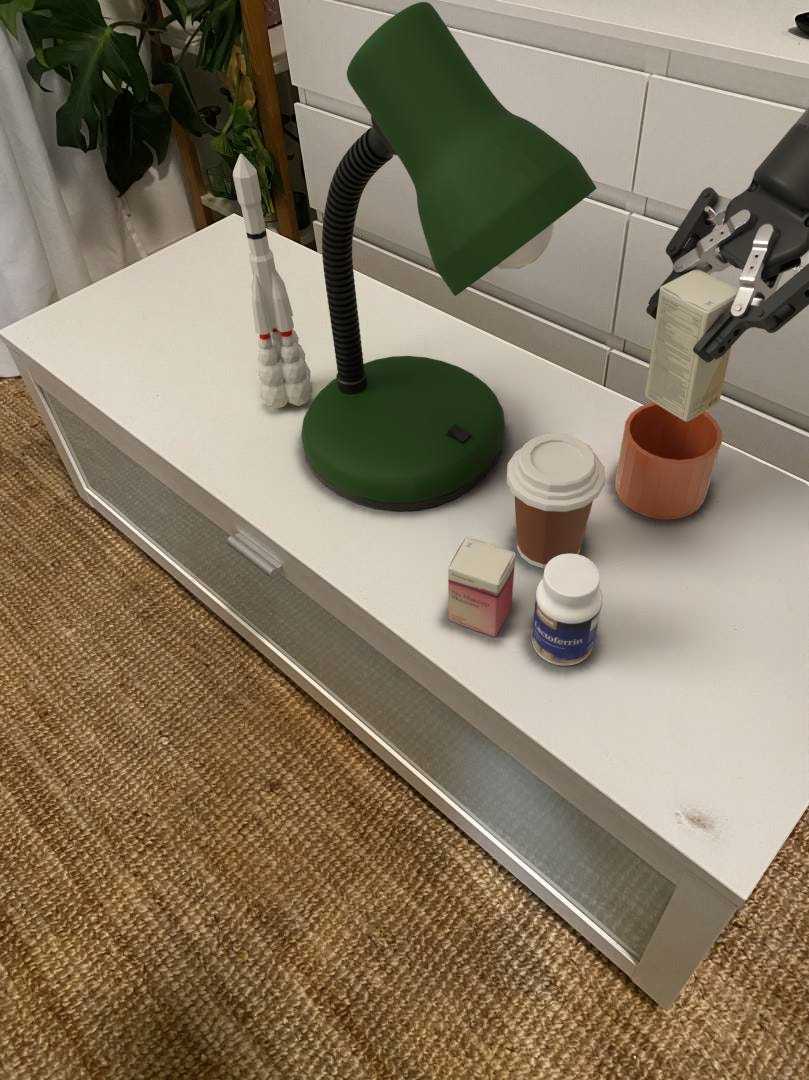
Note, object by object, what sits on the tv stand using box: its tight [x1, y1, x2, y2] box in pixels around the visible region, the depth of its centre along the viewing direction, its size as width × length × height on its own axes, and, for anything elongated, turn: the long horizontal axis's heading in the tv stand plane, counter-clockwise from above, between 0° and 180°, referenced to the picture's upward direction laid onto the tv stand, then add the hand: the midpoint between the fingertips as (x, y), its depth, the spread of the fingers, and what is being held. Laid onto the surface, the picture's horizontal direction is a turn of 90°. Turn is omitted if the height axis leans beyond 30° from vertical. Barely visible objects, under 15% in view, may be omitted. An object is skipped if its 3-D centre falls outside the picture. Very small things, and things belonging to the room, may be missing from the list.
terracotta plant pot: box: [614, 401, 723, 521], centre depth 89 cm, size 9×9×8 cm
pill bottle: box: [531, 554, 603, 667], centre depth 76 cm, size 6×6×10 cm
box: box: [644, 269, 739, 422], centre depth 71 cm, size 5×4×11 cm
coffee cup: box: [506, 433, 606, 569], centre depth 83 cm, size 9×9×12 cm
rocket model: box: [232, 153, 313, 410], centre depth 94 cm, size 7×7×30 cm
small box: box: [447, 536, 517, 637], centre depth 79 cm, size 5×4×8 cm
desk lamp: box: [300, 1, 598, 512], centre depth 81 cm, size 31×23×45 cm
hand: (676, 336), depth 70 cm, fingers closed on box, 5 cm apart
